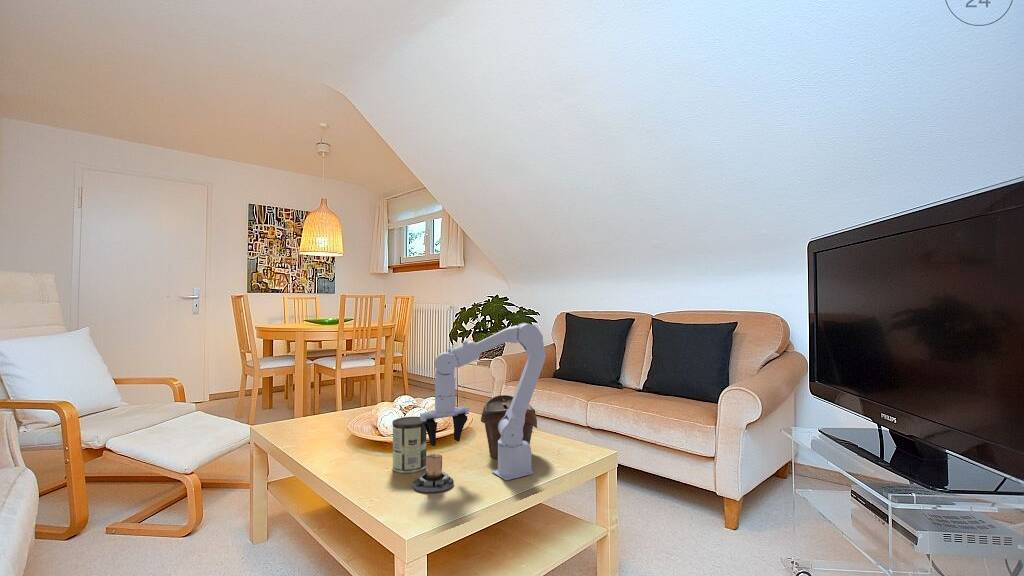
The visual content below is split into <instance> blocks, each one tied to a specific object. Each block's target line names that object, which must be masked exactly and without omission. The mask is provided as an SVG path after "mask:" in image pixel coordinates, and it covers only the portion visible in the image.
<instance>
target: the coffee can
mask: <svg viewBox="0 0 1024 576" xmlns="http://www.w3.org/2000/svg"><path fill="white" fill-rule="evenodd" d="M391 423H392V471H394V472H395V473H401V474H412V473H418V472H421V471H423V470H426V456H427V430H426V428H425V426H424V424H423V422H422V421H421V420H420V416H404V417H399V418H396V419H393V420H392V422H391Z"/></svg>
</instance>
